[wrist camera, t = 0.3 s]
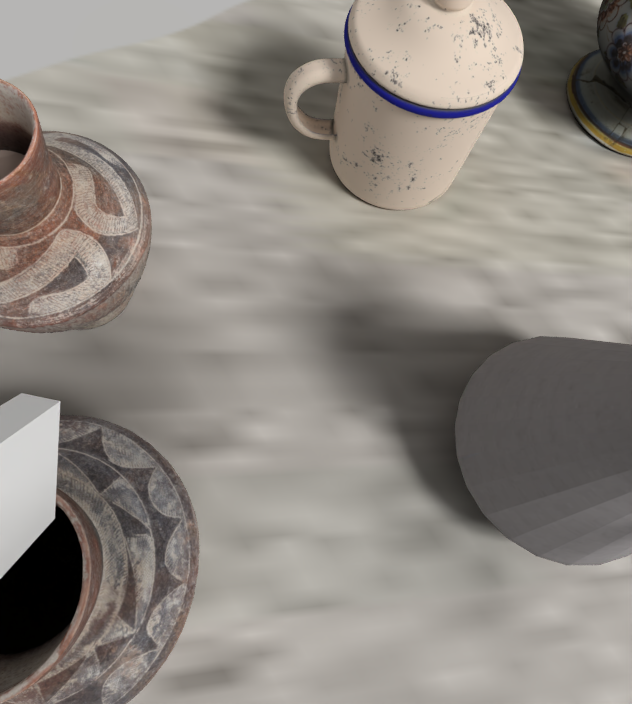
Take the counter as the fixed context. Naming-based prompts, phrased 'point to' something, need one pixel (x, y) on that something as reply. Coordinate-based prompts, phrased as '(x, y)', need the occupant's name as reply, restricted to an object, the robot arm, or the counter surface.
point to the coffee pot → (552, 447)
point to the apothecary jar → (606, 80)
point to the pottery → (86, 436)
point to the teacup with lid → (410, 93)
